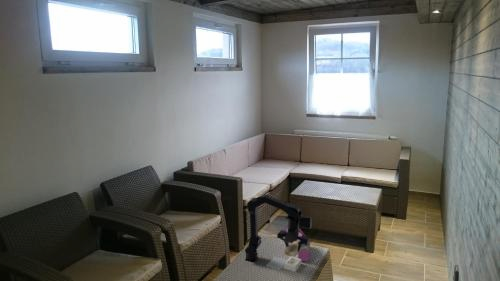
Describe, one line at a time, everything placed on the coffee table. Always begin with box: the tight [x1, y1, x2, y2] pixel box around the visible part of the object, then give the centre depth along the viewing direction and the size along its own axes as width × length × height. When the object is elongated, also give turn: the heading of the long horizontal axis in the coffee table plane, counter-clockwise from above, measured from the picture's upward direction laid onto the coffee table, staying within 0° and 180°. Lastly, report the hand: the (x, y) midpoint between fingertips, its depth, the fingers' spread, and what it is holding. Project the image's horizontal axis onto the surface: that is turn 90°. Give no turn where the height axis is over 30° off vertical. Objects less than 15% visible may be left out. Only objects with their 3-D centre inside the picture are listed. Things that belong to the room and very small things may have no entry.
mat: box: [265, 256, 288, 271], centre depth 228 cm, size 9×13×1 cm
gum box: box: [286, 226, 311, 262], centre depth 241 cm, size 24×8×14 cm, turn 14°
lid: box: [284, 243, 302, 257], centre depth 223 cm, size 6×11×3 cm, turn 152°
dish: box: [283, 256, 302, 272], centre depth 224 cm, size 7×10×4 cm
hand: (293, 250), depth 223 cm, fingers closed on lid, 6 cm apart
